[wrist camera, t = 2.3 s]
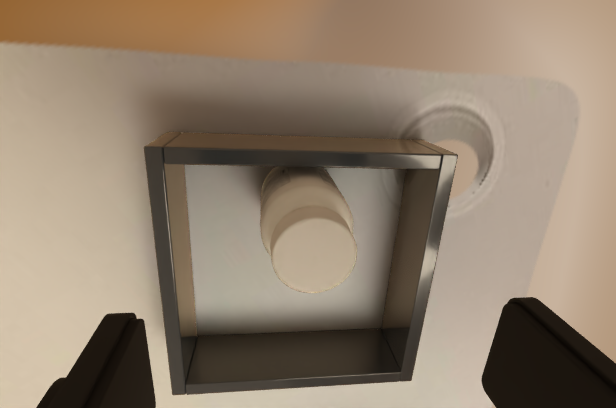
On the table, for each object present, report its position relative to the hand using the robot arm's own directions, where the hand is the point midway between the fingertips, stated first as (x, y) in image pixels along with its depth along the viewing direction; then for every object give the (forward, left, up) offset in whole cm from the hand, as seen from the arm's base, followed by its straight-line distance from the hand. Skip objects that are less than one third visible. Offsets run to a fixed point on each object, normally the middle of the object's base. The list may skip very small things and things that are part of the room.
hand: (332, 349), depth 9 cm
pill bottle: (0, 0, -13) cm, 13 cm away
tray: (+1, +4, -13) cm, 13 cm away
